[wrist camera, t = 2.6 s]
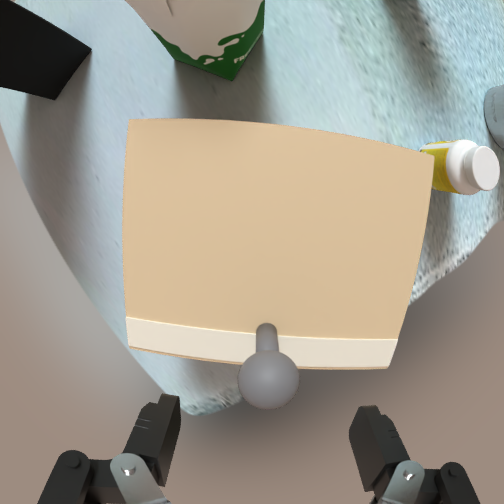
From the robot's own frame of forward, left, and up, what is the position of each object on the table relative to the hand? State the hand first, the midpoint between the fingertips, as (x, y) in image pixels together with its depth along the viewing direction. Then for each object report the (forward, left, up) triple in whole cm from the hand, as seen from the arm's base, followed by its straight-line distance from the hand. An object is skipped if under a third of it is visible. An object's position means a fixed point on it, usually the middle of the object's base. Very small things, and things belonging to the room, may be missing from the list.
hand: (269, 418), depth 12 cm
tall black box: (+28, -24, -21) cm, 42 cm away
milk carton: (+7, -24, -21) cm, 33 cm away
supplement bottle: (-18, -14, -21) cm, 31 cm away
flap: (0, -5, -9) cm, 10 cm away
